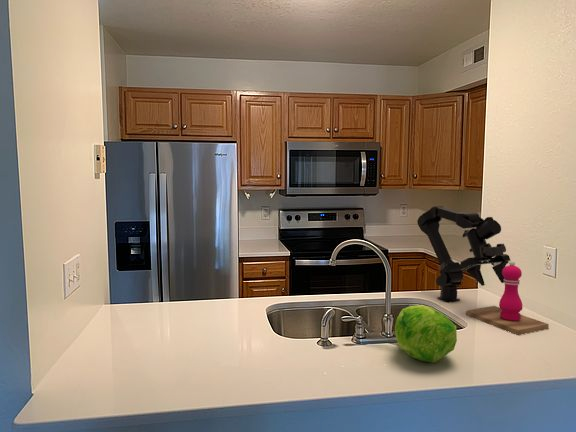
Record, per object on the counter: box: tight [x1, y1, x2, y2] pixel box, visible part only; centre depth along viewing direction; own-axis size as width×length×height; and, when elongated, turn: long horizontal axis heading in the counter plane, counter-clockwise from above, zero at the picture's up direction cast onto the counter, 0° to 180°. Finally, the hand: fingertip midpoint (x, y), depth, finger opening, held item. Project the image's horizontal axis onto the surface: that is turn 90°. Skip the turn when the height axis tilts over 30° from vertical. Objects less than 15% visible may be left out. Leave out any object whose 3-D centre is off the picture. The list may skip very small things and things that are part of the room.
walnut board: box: [465, 305, 550, 336], centre depth 148 cm, size 22×14×2 cm, turn 21°
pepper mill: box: [498, 260, 523, 321], centre depth 146 cm, size 7×7×20 cm
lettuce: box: [394, 304, 458, 363], centre depth 121 cm, size 17×20×15 cm
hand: (493, 284), depth 152 cm, fingers open, 9 cm apart
